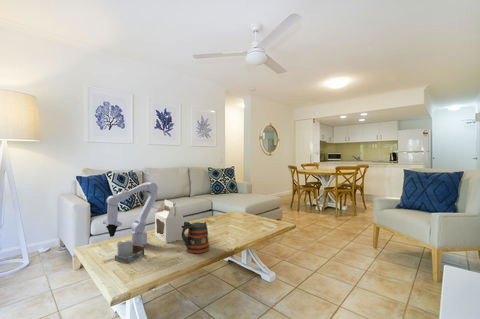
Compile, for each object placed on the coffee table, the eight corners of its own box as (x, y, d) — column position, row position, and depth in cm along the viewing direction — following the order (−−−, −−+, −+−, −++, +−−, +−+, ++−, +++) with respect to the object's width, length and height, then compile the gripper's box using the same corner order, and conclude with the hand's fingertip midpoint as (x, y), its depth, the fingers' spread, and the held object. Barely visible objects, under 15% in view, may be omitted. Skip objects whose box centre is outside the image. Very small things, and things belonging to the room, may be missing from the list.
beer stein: (189, 258, 135) (190, 224, 135) (176, 251, 145) (176, 220, 145) (213, 249, 149) (213, 219, 149) (199, 243, 159) (199, 215, 159)
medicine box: (131, 254, 140) (131, 240, 141) (132, 256, 137) (132, 242, 137) (117, 257, 136) (117, 242, 136) (118, 259, 132) (118, 244, 132)
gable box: (183, 239, 168) (183, 201, 168) (165, 243, 159) (166, 203, 159) (170, 232, 185) (171, 198, 185) (154, 235, 176) (155, 199, 176)
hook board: (120, 249, 147) (120, 241, 147) (144, 255, 139) (144, 246, 139) (101, 257, 136) (101, 248, 136) (126, 263, 127) (126, 254, 127)
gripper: (98, 215, 143) (98, 236, 143) (115, 217, 137) (114, 239, 137) (108, 212, 149) (108, 233, 149) (124, 214, 144) (124, 236, 144)
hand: (112, 236), depth 144 cm, fingers closed
